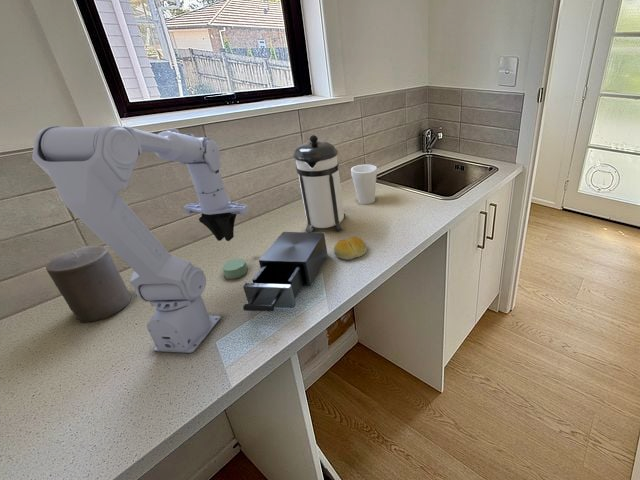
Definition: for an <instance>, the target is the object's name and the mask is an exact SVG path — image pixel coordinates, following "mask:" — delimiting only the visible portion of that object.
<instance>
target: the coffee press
mask: <svg viewBox="0 0 640 480" xmlns="http://www.w3.org/2000/svg"><path fill="white" fill-rule="evenodd" d="M338 154H339V151H338V150H337V148H336V147H335V145H334V144H332V143H330V142H328V141H321V140H320V141H319V138H318V137H317V135H314V134H313V135H310V137H309V141H308V142H304V143H301V144H299V145H298V146H296V148H295V149H294V153H293V159H294V160H295V164H296V165H295V168H296V174H297V176H298V180H299V182H298V183H299V187H300V192H301V197H302V198H301V199H302V203H303V209H304V214H305V218H306V219H305V221H306V223H307V225H306V227H305V232H309V233H313V230H314V229H315V228H316V229H327V228H331V227H333V228H334V229H335V231H336V232H340V231H342V230H343V227H342V226H341V222H343V220H344V218H345V217H346V213H345V211H344V205H343V195H342V188H341V187H342V186H341V178H340V171H339V169H340V164H339V161H338Z"/></svg>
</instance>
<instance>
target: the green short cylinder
mask: <svg viewBox="0 0 640 480" xmlns="http://www.w3.org/2000/svg"><path fill="white" fill-rule="evenodd" d="M221 268H222V271H223V275H224V277H225V278H226V279H228V280H229V279H230V280H231V279H239V278H240V277H242V276H244V275H246V273H247V272H248V266H247V262H246V260H245V258H238V257H237V258H232V259H229V260H228V261H226V262H224V263H223V264H222V267H221Z"/></svg>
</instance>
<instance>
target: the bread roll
mask: <svg viewBox="0 0 640 480" xmlns="http://www.w3.org/2000/svg"><path fill="white" fill-rule="evenodd" d="M365 242H366V241H364V239H363V238H361V237H357V236H352V237H350V238H349V239H341V240H339V241H338V242H336V243H335V245H334V248H333V253H334V255H335V256H336V257H337V258H339V259H342V260H353V259H355V258H360V257H362V256H363V255H365V254H366V253H367V251H368V249H367V247H366V243H365Z"/></svg>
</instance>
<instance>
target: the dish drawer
mask: <svg viewBox="0 0 640 480" xmlns="http://www.w3.org/2000/svg"><path fill="white" fill-rule="evenodd" d="M251 281H252V282H245V283H244V284H243V285H242V288H243V292H244V295H245V298H246V301H247V303H244V304H243V307H242V309H243V311H245V312H246V311H247V312H271V313H272V312H274V311H275V308H281V309H282V308H283V309H295V307H296V306H297V303H296V299H297V297H298V295H299V293H300V292H301V290H302V289H303V288H304V287H303V285H304V283H305V282H306V276H305V271H304V266H303V264H276V263H266V264H265V265H264V266H263V267H262V268H260V269H259V271H258V272H257V273H256V274H255V275H254V277H253V278H252V280H251Z"/></svg>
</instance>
